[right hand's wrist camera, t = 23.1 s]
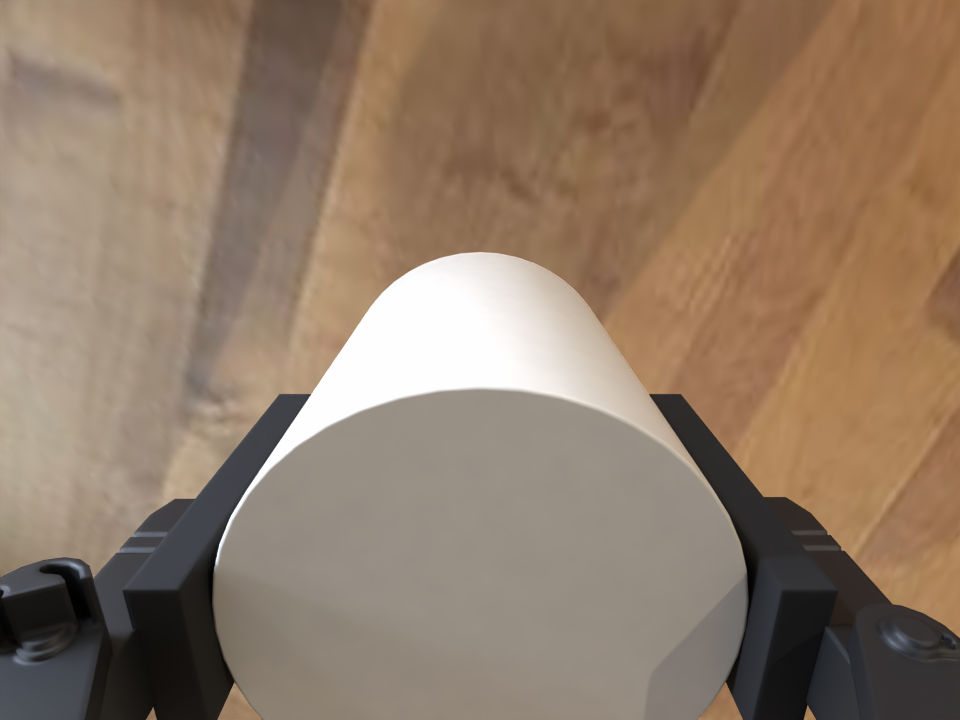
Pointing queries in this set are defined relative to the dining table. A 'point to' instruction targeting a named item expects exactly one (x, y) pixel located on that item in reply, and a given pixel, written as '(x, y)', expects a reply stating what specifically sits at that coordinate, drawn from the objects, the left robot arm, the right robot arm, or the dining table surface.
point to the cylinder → (480, 524)
